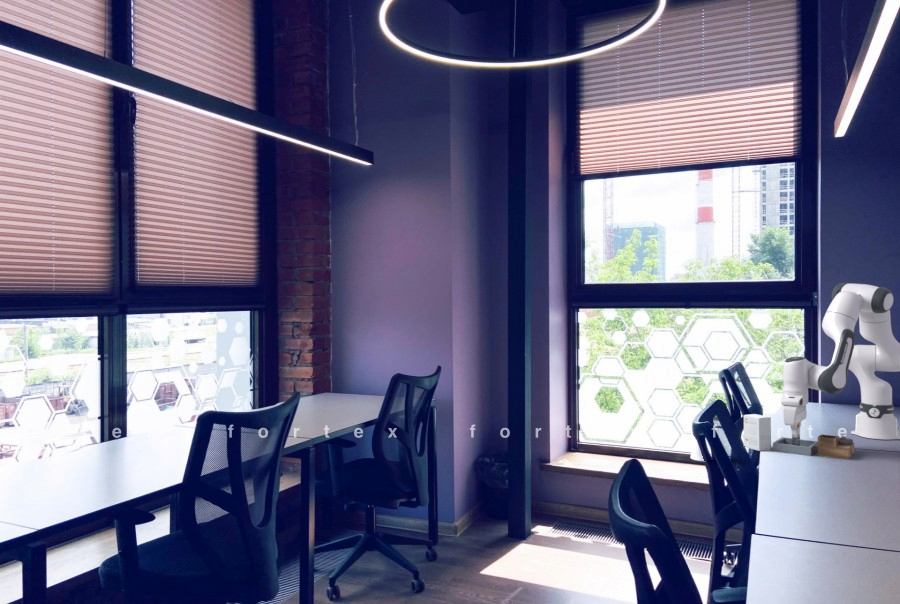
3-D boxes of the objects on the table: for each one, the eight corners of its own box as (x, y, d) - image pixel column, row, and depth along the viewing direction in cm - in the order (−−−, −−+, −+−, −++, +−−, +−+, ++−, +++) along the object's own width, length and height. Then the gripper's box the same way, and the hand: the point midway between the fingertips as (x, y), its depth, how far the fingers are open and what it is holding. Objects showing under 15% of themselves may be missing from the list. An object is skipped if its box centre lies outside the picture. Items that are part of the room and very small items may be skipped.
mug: (709, 464, 236) (709, 431, 236) (685, 461, 241) (685, 429, 240) (717, 457, 245) (716, 426, 245) (693, 454, 250) (693, 423, 250)
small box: (771, 449, 256) (771, 417, 256) (759, 451, 254) (758, 418, 254) (755, 445, 264) (755, 413, 264) (743, 447, 262) (743, 414, 262)
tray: (782, 444, 265) (782, 437, 265) (818, 449, 256) (818, 441, 256) (773, 450, 255) (772, 442, 255) (810, 455, 246) (810, 447, 246)
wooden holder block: (824, 449, 256) (824, 431, 256) (854, 453, 249) (854, 435, 249) (817, 455, 247) (817, 437, 247) (848, 459, 240) (848, 440, 240)
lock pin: (793, 443, 257) (792, 421, 257) (800, 444, 256) (800, 422, 256) (791, 445, 255) (791, 422, 255) (799, 446, 254) (798, 423, 253)
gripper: (793, 394, 265) (793, 428, 265) (779, 400, 250) (780, 436, 250) (810, 395, 261) (811, 430, 261) (797, 402, 246) (798, 439, 246)
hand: (795, 433), depth 255 cm, fingers closed on lock pin, 3 cm apart
